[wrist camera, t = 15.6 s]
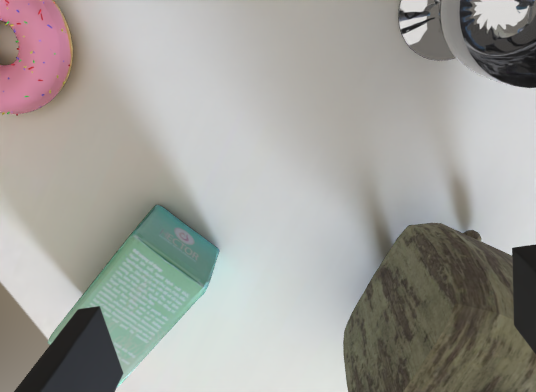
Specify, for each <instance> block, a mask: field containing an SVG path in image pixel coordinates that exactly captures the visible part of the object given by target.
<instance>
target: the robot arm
mask: <svg viewBox="0 0 536 392" xmlns="http://www.w3.org/2000/svg"><path fill="white" fill-rule="evenodd" d="M512 257H513V307H514V326H515V327H516V329H517V330H518V331H519V333H520V334H521V335H522V337H523V338H524V339H525V341H526V342H527V343H528V345H529V346H530V347H531V349H532V350H533V351H534V353H535V354H536V245H530V246H522V247H515V248H512ZM123 374H124V373H123V370H122V368H121V365H120V362H119V359H118V356H117V353H116V351H115V348H114V345H113V342H112V339H111V336H110V334H109V331H108V328H107V325H106V322H105V319H104V317H103V314H102V311H101V308H100V306H97V307H90V308H83V309H78V310H77V311H76V312H75V314H74V315H73V316H72V318H71V319H70V320H69V322H68V323H67V324H66V325H65V327H64V328H63V329H62V331H61V332H60V333H59V334H58V336H57V337H56V338H55V340H54V341H53V342H52V343H51V345H50V346H49V348H48V349H47V350H46V351H45V353H44V354H43V355H42V356H41V358H40V359H39V360H38V362H37V363H36V364H35V366H34V367H33V368H32V369H31V371H30V372H29V373H28V374H27V376H26V377H25V379H24V380H23V381H22V382H21V384H20V385H19V386H18V388H17V389H16V390H15V391H14V392H115V390H116V388H117V386H118V384H119V382H120V380H121V378H122V376H123Z"/></svg>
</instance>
